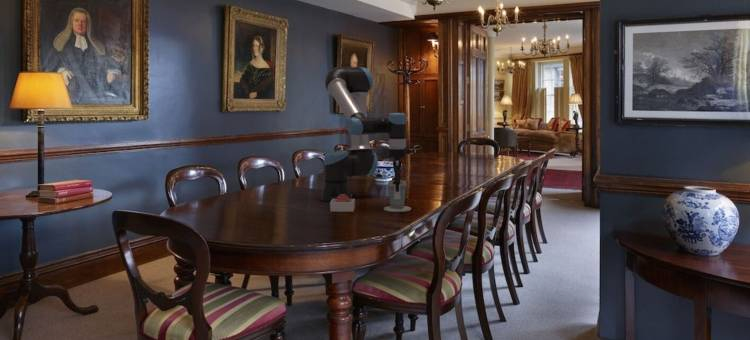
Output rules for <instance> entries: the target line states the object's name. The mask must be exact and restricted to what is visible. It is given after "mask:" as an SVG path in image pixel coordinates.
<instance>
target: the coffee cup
mask: <svg viewBox="0 0 750 340" xmlns="http://www.w3.org/2000/svg"><path fill="white" fill-rule="evenodd" d="M393 182H394V179H391V180H388V183H387V187H388V189H387V190H388V195H389V204H390V205H389V206H391V208H392V209H402V208H404V206H405V200H406V190H407V186H408V184H407V182H406V180H405V179H400V199H394V184H393Z"/></svg>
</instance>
